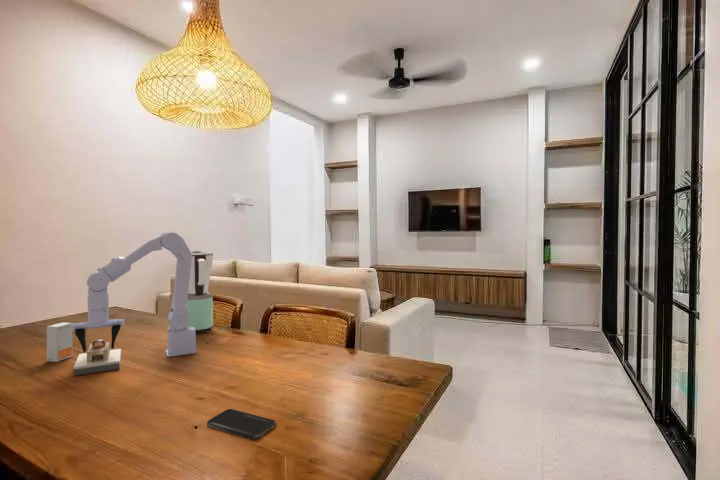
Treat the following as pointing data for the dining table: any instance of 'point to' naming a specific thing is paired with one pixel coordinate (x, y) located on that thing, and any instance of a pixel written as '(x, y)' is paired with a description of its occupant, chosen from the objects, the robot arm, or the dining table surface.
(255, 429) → the phone
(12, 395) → the dining table surface
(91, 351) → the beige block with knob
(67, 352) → the skincare box
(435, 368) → the dining table surface
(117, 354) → the dock
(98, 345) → the drum
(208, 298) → the juicer
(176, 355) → the robot arm
